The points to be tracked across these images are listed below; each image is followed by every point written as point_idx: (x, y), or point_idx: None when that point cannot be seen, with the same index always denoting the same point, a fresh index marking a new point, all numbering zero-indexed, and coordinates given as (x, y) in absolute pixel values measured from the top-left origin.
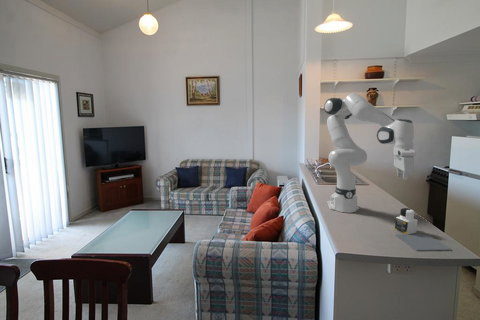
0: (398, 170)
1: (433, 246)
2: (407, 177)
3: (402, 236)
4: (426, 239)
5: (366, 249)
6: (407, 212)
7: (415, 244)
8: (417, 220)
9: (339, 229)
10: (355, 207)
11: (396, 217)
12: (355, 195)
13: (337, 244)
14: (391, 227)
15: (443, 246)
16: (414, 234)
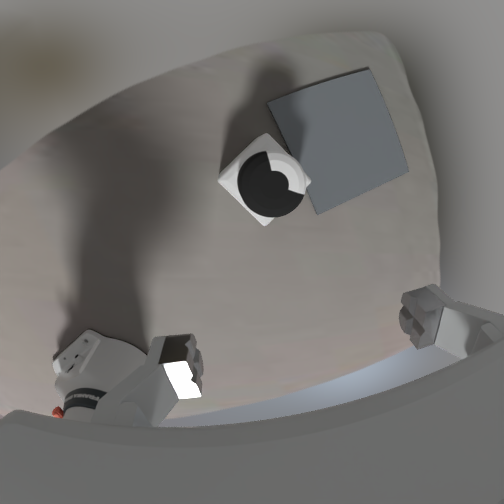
0: (149, 419)
1: (370, 113)
2: (447, 296)
3: (326, 194)
4: (322, 117)
5: None
6: (305, 187)
7: (376, 164)
8: (268, 134)
9: (319, 364)
10: (115, 350)
11: (268, 223)
12: (89, 381)
13: (405, 346)
14: (235, 223)
15: (358, 83)
16: (289, 148)
